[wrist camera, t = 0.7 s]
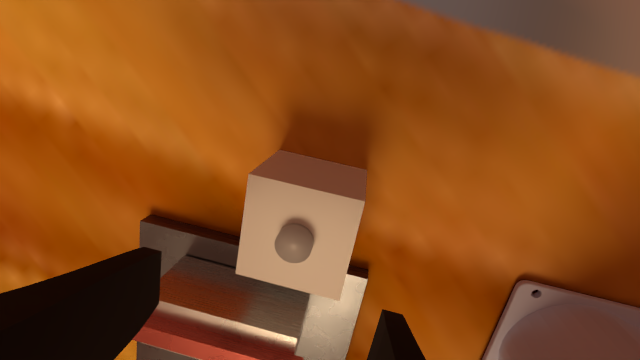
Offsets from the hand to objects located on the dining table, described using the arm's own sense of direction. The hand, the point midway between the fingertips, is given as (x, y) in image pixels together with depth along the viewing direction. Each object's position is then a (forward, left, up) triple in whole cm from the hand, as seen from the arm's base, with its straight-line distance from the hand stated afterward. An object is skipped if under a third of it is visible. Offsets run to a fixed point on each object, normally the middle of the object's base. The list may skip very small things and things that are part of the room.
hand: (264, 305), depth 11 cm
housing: (0, 0, -10) cm, 10 cm away
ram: (+3, +6, -8) cm, 11 cm away
